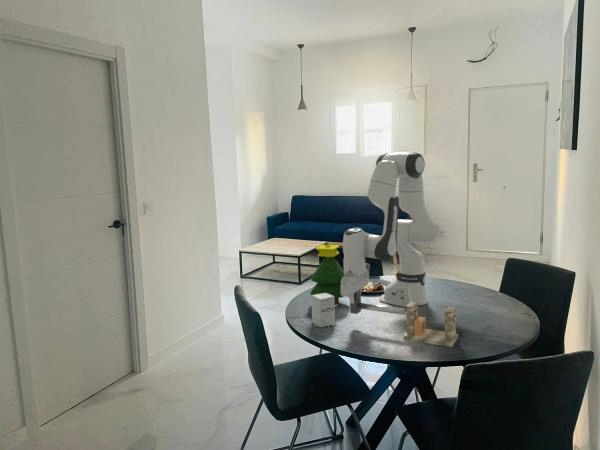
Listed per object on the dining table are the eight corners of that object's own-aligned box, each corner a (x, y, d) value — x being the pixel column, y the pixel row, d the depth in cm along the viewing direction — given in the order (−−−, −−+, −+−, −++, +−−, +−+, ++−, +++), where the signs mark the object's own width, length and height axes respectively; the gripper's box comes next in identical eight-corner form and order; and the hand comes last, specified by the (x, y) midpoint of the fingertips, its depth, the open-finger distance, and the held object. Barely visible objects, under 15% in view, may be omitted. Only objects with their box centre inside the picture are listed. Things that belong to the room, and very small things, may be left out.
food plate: (382, 297, 229) (382, 290, 228) (340, 292, 241) (340, 286, 241) (400, 286, 250) (400, 279, 249) (360, 281, 262) (360, 275, 262)
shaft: (350, 313, 192) (349, 289, 190) (354, 310, 195) (353, 286, 194) (402, 320, 180) (402, 295, 179) (405, 317, 184) (405, 292, 182)
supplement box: (320, 329, 192) (319, 299, 190) (311, 323, 199) (310, 294, 197) (335, 325, 195) (334, 296, 194) (326, 320, 202) (325, 291, 200)
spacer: (413, 334, 178) (413, 320, 177) (418, 329, 183) (417, 316, 182) (421, 335, 177) (421, 322, 176) (425, 330, 181) (425, 317, 180)
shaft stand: (403, 339, 178) (403, 307, 176) (411, 330, 187) (411, 299, 185) (451, 347, 169) (452, 314, 167) (458, 337, 177) (458, 305, 175)
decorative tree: (355, 300, 227) (354, 239, 223) (345, 313, 210) (343, 247, 205) (318, 297, 234) (316, 238, 230) (305, 309, 217) (302, 246, 212)
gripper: (350, 275, 180) (351, 309, 182) (371, 263, 197) (372, 295, 199) (335, 273, 183) (337, 307, 185) (357, 262, 200) (358, 293, 202)
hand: (355, 301), depth 192 cm, fingers closed on shaft, 4 cm apart
